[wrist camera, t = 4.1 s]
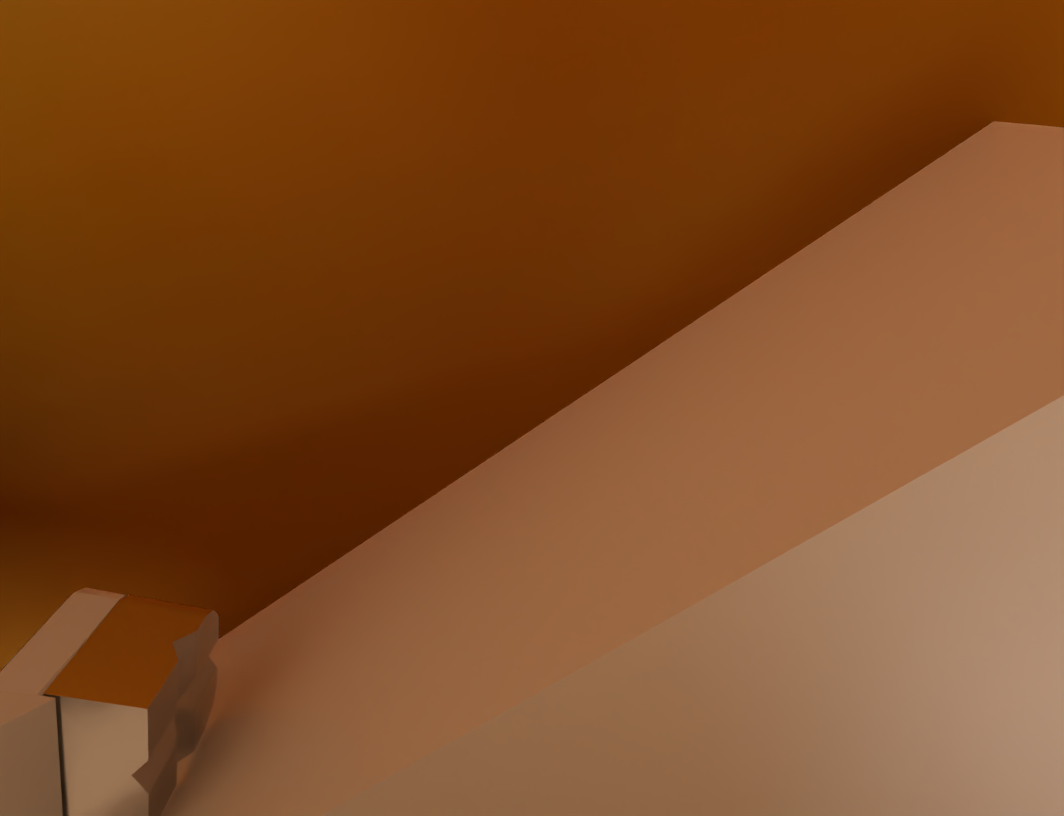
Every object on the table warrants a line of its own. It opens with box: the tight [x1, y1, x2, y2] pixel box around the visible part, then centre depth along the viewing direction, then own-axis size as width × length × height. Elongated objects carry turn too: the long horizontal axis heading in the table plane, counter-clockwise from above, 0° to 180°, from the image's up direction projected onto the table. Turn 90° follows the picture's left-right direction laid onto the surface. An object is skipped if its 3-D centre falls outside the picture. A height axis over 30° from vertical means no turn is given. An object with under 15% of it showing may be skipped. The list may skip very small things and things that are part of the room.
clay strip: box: [161, 121, 1064, 816], centre depth 9 cm, size 16×4×5 cm, turn 126°
